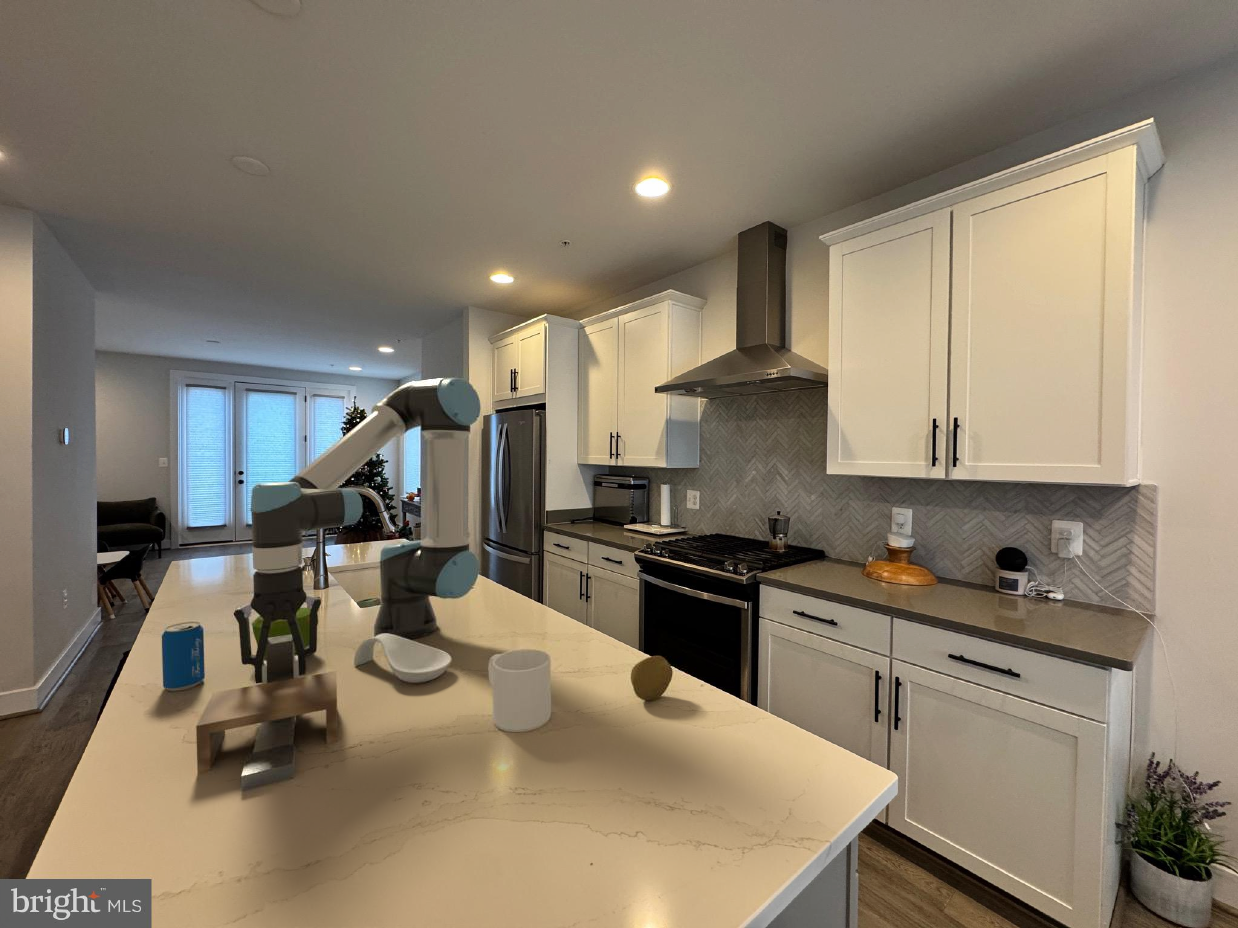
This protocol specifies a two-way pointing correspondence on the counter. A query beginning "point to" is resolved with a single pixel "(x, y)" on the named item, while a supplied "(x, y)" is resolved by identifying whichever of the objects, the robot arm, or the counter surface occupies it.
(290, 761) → the block
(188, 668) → the beverage can
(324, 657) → the counter surface
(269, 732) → the grey metal prism
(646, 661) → the potato
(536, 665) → the mug
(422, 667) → the spoon rest
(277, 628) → the apple
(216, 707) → the walnut shelf
